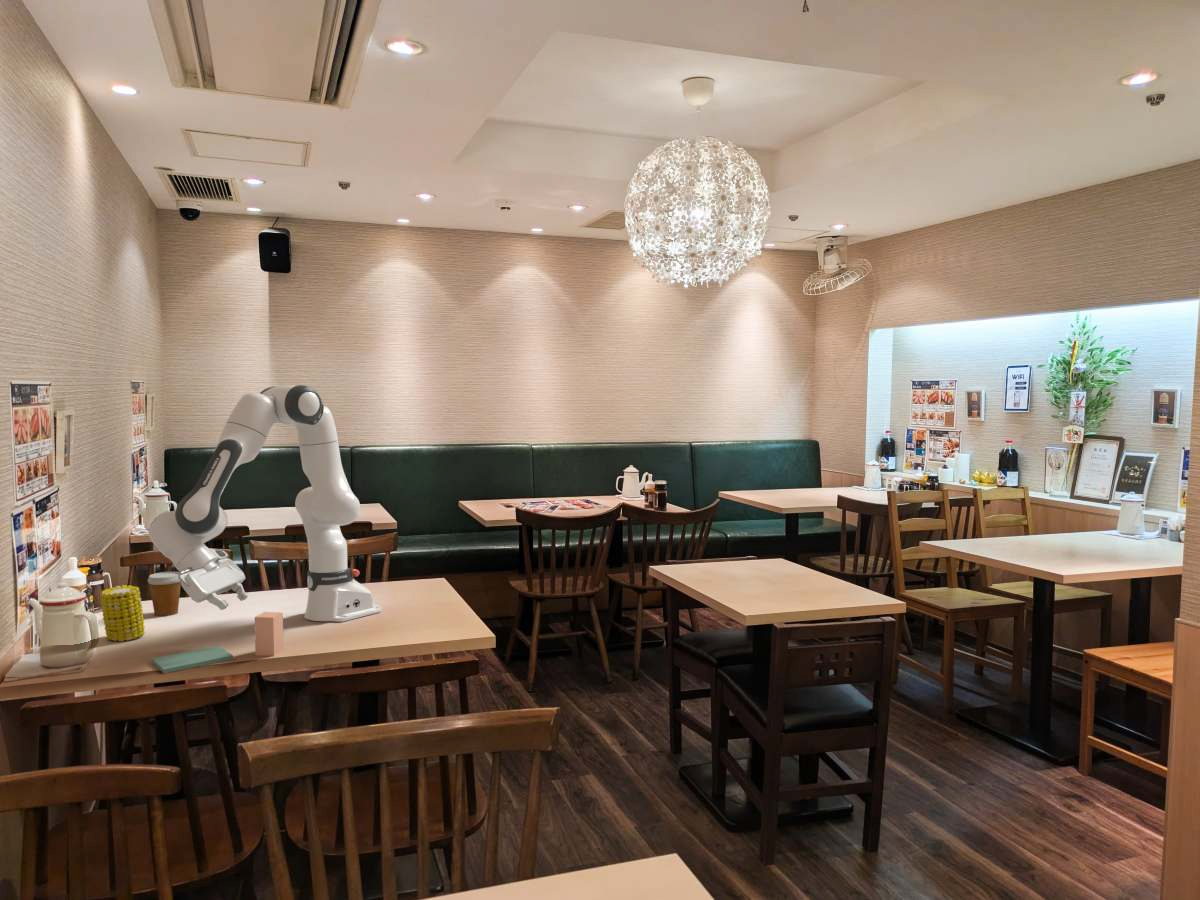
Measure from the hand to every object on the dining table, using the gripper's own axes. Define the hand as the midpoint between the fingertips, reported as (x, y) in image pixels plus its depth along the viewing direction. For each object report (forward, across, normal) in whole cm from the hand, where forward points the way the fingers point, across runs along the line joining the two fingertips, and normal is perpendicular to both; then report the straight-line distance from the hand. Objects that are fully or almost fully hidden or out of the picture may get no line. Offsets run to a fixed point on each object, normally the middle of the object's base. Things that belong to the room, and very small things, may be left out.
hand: (235, 603), depth 217 cm
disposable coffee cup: (-20, +33, +38) cm, 54 cm away
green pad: (+4, -9, +14) cm, 17 cm away
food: (-17, +7, +35) cm, 40 cm away
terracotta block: (+15, 0, +3) cm, 16 cm away
